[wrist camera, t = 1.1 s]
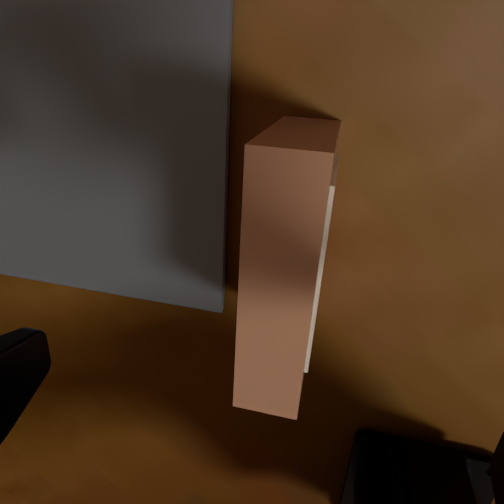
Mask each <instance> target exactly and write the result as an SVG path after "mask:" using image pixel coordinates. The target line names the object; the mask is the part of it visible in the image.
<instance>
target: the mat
mask: <svg viewBox="0 0 504 504" xmlns="http://www.w3.org/2000/svg"><path fill="white" fill-rule="evenodd" d="M232 22H233V0H0V274H3V275H9V276H15V277H20V278H26V279H32V280H37V281H43V282H49V283H54V284H60V285H66V286H71V287H77V288H83V289H88V290H94V291H99V292H105V293H111V294H116V295H122V296H128V297H133V298H139V299H145V300H150V301H156V302H162V303H167V304H173V305H179V306H184V307H190V308H196V309H201V310H207V311H213V312H218V313H222V311H223V310H224V296H225V262H226V228H227V193H228V159H229V125H230V91H231V57H232Z"/></svg>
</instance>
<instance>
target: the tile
mask: <svg viewBox="0 0 504 504" xmlns="http://www.w3.org/2000/svg"><path fill="white" fill-rule="evenodd" d="M340 127H341V120H329V119H317V118H305V117H294V116H283V117H282V118H281V119H279V120H278V121H276V122H275V123H274V124H272V125H271V126H270V127H268V128H267V129H265V130H264V131H263V132H261V133H260V134H258V135H257V136H256V137H254V138H253V139H251V140H250V141H249V142H247V143H246V144H245V150H244V172H243V194H242V215H241V237H240V259H239V281H238V302H237V324H236V346H235V368H234V389H233V406H235V407H239V408H244V409H248V410H253V411H257V412H262V413H267V414H271V415H276V416H280V417H285V418H289V419H294V420H297V415H298V409H299V403H300V397H301V390H302V384H303V378H304V372H305V373H308V368H309V361H310V355H311V348H312V341H313V335H314V328H315V321H316V315H317V308H318V301H319V294H320V287H321V281H322V274H323V267H324V260H325V253H326V246H327V240H328V233H329V226H330V219H331V212H332V205H333V199H334V192H335V185H336V178H337V171H338V165H339V158H340V155H337V148H338V141H339V134H340Z"/></svg>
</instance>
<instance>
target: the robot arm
mask: <svg viewBox="0 0 504 504" xmlns="http://www.w3.org/2000/svg"><path fill="white" fill-rule="evenodd" d="M50 366H51V358H50V353H49V347H48V342H47V337H46V334H45V333H44V332H43V331H42V330H38V329H33V328H28V327H24V328H20V329H17V330H15V331H12V332H9V333H6V334H3V335H0V444H1V443H2V442H3V440H4V439H5V438H6V436H7V435H8V433H9V432H10V430H11V429H12V427H13V426H14V424H15V423H16V421H17V420H18V418H19V417H20V415H21V414H22V412H23V411H24V409H25V407H26V406H27V404H28V403H29V401H30V400H31V398H32V397H33V395H34V394H35V392H36V390H37V389H38V387H39V386H40V384H41V383H42V381H43V380H44V378H45V377H46V375H47V373H48V371H49V369H50ZM364 440H368V441H364ZM493 498H495V504H504V432H503V434H502V436H501V438H500V440H499V443H498V445H497V447H496V449H495V452H494V454H493V456H492V457H491V456H487V455H482V454H478V453H473V452H468V451H464V450H459V449H454V448H450V447H445V446H440V445H436V444H431V443H427V442H422V441H417V440H413V439H408V438H403V437H399V436H394V435H389V434H385V433H380V432H376V431H371V430H364V429H363V430H359V431H358V432H357V433H356V434H355V438H354V442H353V447H352V451H351V455H350V460H349V464H348V468H347V473H346V477H345V481H344V486H343V490H342V494H341V499H340V503H339V504H491V502H492V500H493Z"/></svg>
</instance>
